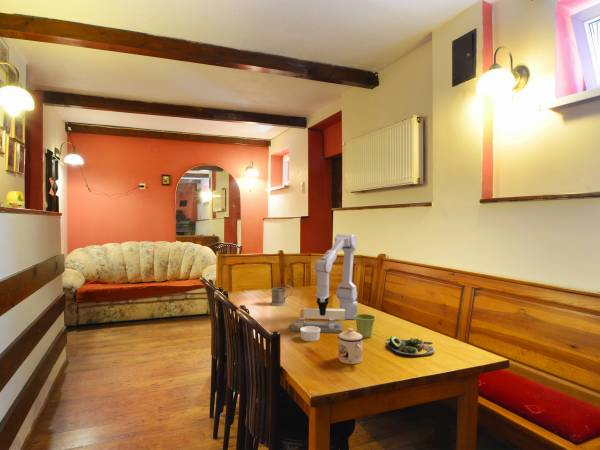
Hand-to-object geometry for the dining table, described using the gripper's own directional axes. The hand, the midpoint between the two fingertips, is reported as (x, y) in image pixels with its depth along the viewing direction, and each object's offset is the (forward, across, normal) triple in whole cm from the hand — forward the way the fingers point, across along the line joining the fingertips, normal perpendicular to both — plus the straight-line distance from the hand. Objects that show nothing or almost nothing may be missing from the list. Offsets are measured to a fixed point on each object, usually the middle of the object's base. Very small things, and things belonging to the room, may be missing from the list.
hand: (322, 314), depth 175 cm
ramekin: (+7, +15, -5) cm, 17 cm away
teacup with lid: (+7, +39, +12) cm, 41 cm away
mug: (+7, -46, -26) cm, 53 cm away
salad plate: (+8, +24, +35) cm, 43 cm away
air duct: (+2, 0, 0) cm, 2 cm away
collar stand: (+7, 0, -3) cm, 8 cm away
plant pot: (+7, +9, +19) cm, 22 cm away
